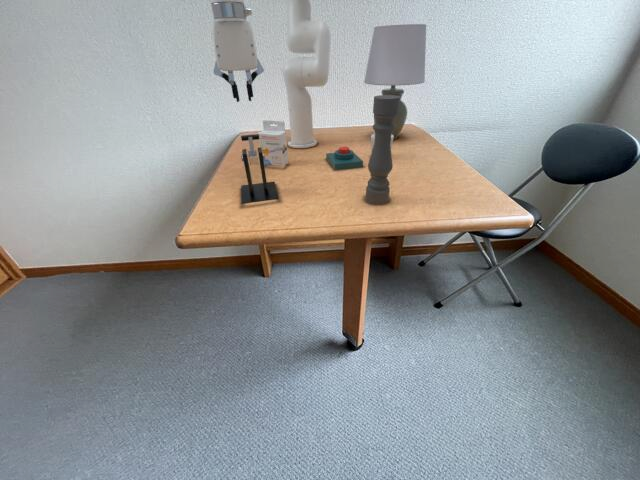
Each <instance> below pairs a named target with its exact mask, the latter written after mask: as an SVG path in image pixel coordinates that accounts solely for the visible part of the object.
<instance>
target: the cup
mask: <svg viewBox="0 0 640 480" xmlns="http://www.w3.org/2000/svg"><path fill="white" fill-rule="evenodd" d="M393 138H394V136H393V135H391V144H390V146H391V148H393V142H394V139H393ZM374 141H375V133H372V134H371V135H370V149H371V150H370V152H371V153H372V150H373V147H374ZM371 153H370V154H371Z"/></svg>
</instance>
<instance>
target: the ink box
mask: <svg viewBox="0 0 640 480" xmlns="http://www.w3.org/2000/svg"><path fill="white" fill-rule="evenodd" d="M273 124H274V125H276V126H274V125H273ZM262 127H263V129H262V130H261V131H259V132H257V134H259V139H258V145H259V147H258V148H261V149H262V154H264V156H265V159H263V161H264V166H274V167H285V166H286V165H287V164H288V163H289V154H288V153H289V152H288V141H287V131H286V126H285V121H283V120H262Z"/></svg>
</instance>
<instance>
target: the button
mask: <svg viewBox="0 0 640 480" xmlns="http://www.w3.org/2000/svg"><path fill="white" fill-rule="evenodd" d="M338 150H339V153H340V154H348V153H349V150H350V147H348V146H340V147H339V148H338Z"/></svg>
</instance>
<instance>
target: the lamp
mask: <svg viewBox="0 0 640 480" xmlns="http://www.w3.org/2000/svg"><path fill="white" fill-rule="evenodd" d="M426 44H427V24H425V23H410V24H409V23H407V24H392V25H391V24H389V25H377V26H374V27H373V33H372V38H371V44H370V48H369V54H368V60H367V64H366V69H365V75H364V81H363V83H364V84H366V85H370V86H371V85H372V86H390V88H383V89H381V92H380V93H381V95H395V96H400V103H399V111H398V113H397V117H396V118H395V119H394V121H393V124H394V125H395V129H394V130H393V132H392V135H393V136H394V138H393V140H396V139H398V138H399V135H400V134H401V132H402V131H403V128H404V126H405V124H406V121H407V118H408V108H407V105H406V103H405V102H403V101H402V100H401V99H402V97H403V95H404V93H405V90H404V89H403V88H396V86H412V85H420V84H421V85H422V84H424V83H425V82H426V80H425V79H426V76H425V75H426V51H427V49H426V46H427V45H426ZM375 123H376V121H375V118H374V117H373V125H374V124H375Z"/></svg>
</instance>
